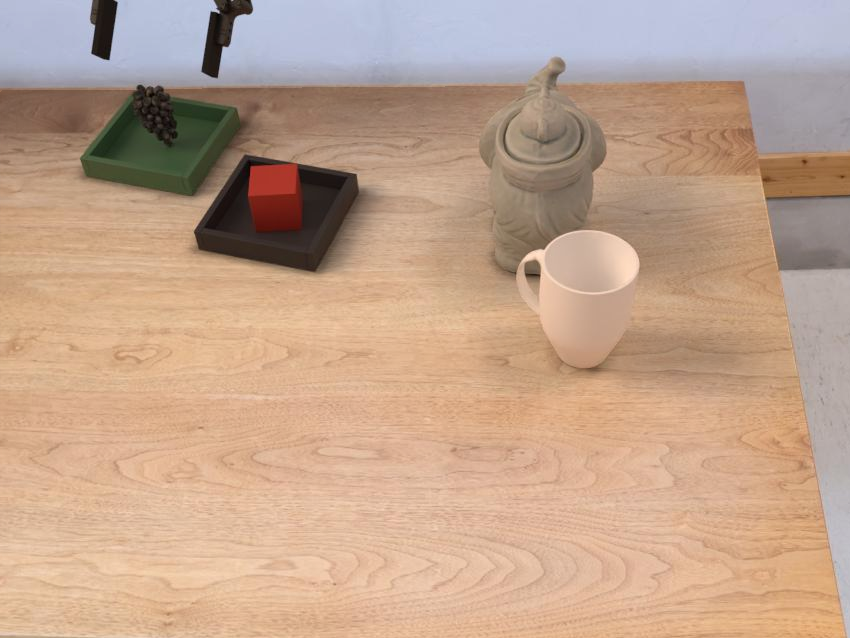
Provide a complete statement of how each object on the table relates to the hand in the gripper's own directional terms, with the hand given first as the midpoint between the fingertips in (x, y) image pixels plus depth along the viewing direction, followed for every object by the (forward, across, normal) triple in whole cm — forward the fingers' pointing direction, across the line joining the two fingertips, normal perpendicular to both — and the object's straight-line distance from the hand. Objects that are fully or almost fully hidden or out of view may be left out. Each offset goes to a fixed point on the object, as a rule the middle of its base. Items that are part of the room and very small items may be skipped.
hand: (154, 66), depth 126 cm
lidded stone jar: (+10, -46, -4) cm, 47 cm away
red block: (+14, -18, +1) cm, 23 cm away
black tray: (+14, -18, 0) cm, 23 cm away
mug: (+21, -53, +7) cm, 58 cm away
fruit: (+8, 0, -5) cm, 10 cm away
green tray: (+8, 0, -5) cm, 10 cm away
